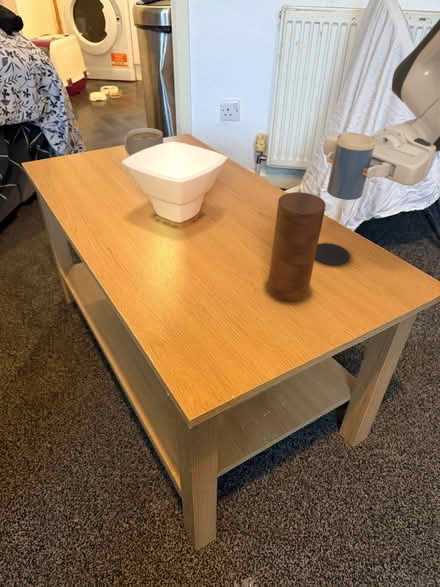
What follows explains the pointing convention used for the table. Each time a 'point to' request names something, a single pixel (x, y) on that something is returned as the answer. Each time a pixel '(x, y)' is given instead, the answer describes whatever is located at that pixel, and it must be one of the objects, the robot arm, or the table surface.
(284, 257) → the stand
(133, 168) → the bowl
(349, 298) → the table surface
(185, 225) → the table surface
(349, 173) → the tumbler
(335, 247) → the coaster
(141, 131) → the coffee mug
